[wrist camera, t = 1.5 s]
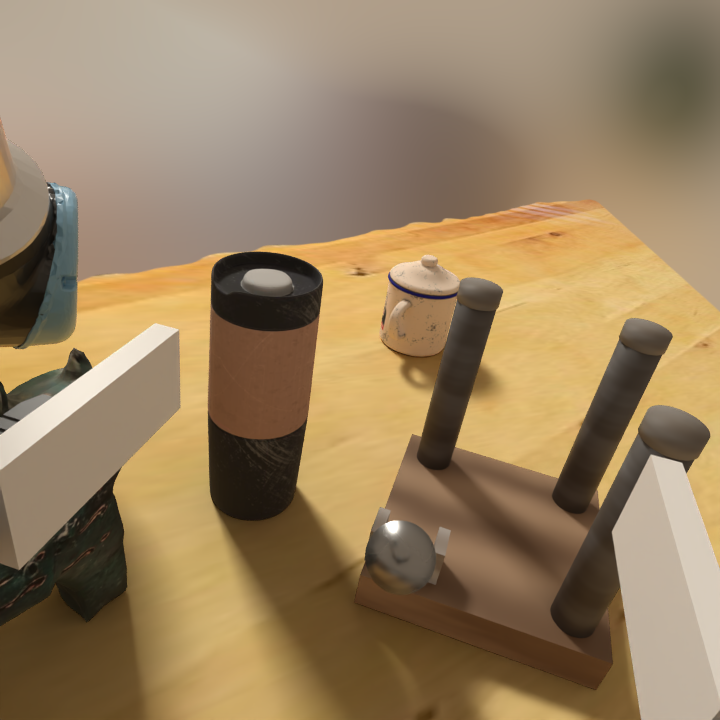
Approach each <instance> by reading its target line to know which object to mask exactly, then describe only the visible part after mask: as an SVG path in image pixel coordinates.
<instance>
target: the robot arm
mask: <svg viewBox="0 0 720 720" xmlns="http://www.w3.org/2000/svg"><path fill="white" fill-rule="evenodd" d="M77 270H78V202H77V197H76V194H75V193H74V192H73V191H72V190H71V189H70V188H67V187H63V186H59V185H57V184H56V183H48V182H46V180H45V178H44V175H43V173H42V171H41V170H40V168H39V166H38V165H37V163H36V162H35V161H34V160H33V159H32V158H31V157H30V156H29V155H28V154H27V153H26V152H25V151H24V150H23V149H21V148H20V147H19V146H17V145H16V144H15V143H13V142H12V141H10V140H8V139H6V136H5V132H4V129H3V126H2V122H1V118H0V347H13V348H15V349H25V348H27V347H29V346H35V345H46V344H56V343H60V342H63V341H65V340H66V339H68V338H69V337H70V336H71V335H72V333H73V332H74V330H75V326H76V317H77V277H78V275H77V274H78V272H77ZM179 408H180V355H179V329H175V328H171V327H167V326H164V325H160V324H156V323H155V324H153V325H152V326H151V327H149V328H148V329H146V330H145V331H144V332H142V333H141V334H140V335H138V336H137V337H135V338H134V339H133V340H131V341H130V342H128V343H127V344H126V345H124V346H123V347H121V348H120V349H119V350H117V351H116V352H115V353H113V354H112V355H110V356H109V357H108V358H106V359H105V360H103V361H102V362H101V363H99V364H98V365H96V366H95V367H94V368H92V369H91V370H90V371H88V372H87V373H85V374H84V375H83V376H81V377H80V378H78V379H77V380H76V381H74V382H73V383H72V384H70V385H69V386H67V387H66V388H65V389H63V390H62V391H60V392H59V393H58V394H56V395H55V396H53V397H51V396H48V395H45V394H42V395H39V396H37V397H34V398H31V399H29V400H26V401H23V402H21V403H19V404H18V405H16V406H15V407H13V408H12V409H10V410H9V411H8V412H6V413H5V414H3V417H2V418H1V417H0V563H1V564H4V565H6V566H9V567H12V568H15V569H18V570H20V569H21V568H22V567H23V566H24V565H25V564H26V563H27V562H28V561H29V560H30V559H31V558H32V557H33V556H34V555H35V554H36V553H37V552H38V551H39V550H40V549H41V548H42V547H43V546H44V545H45V544H46V543H47V542H48V541H49V540H50V539H51V538H52V537H53V536H54V535H55V534H56V533H57V532H58V531H59V530H60V529H61V528H62V527H63V525H64V524H65V523H66V522H67V521H68V520H69V519H70V518H71V517H72V516H73V515H74V514H75V513H76V512H77V511H78V510H79V509H80V508H81V507H82V506H83V505H84V504H85V503H86V502H87V501H88V500H89V499H90V498H91V497H92V496H93V495H94V494H95V493H96V492H97V491H98V490H99V489H100V488H101V487H102V486H103V485H104V484H105V483H106V482H107V481H108V480H109V479H110V478H111V477H112V476H113V475H114V474H115V473H116V472H117V471H118V470H119V469H120V468H121V467H122V466H123V465H124V464H125V463H126V462H127V461H128V460H129V459H130V458H131V457H132V456H133V455H134V454H135V453H136V452H137V451H138V450H139V449H140V448H141V447H142V446H143V445H144V444H145V443H146V442H147V441H148V440H149V439H150V438H151V437H152V436H153V435H154V434H155V433H156V432H157V431H158V430H159V429H160V428H161V427H162V426H163V425H164V424H165V423H166V422H167V421H168V420H169V419H170V418H171V417H172V416H173V415H174V414H175V413H176V412H177V411H178V410H179ZM612 536H613V542H614V549H615V555H616V562H617V568H618V574H619V581H620V587H621V594H622V600H623V606H624V613H625V619H626V626H627V632H628V638H629V645H630V651H631V658H632V664H633V670H634V677H635V683H636V690H637V696H638V702H639V709H640V715H641V720H720V568H719V566H718V563H717V560H716V557H715V554H714V551H713V549H712V546H711V543H710V540H709V537H708V534H707V532H706V529H705V526H704V523H703V520H702V517H701V514H700V512H699V509H698V506H697V503H696V500H695V497H694V495H693V492H692V489H691V486H690V483H689V480H688V478H687V475H686V472H685V469H684V466H683V463H681V462H677V461H673V460H670V459H666V458H662V457H658V456H655V455H650V457H649V459H648V461H647V463H646V465H645V467H644V469H643V471H642V473H641V475H640V477H639V479H638V481H637V483H636V485H635V487H634V489H633V491H632V493H631V495H630V497H629V499H628V501H627V503H626V505H625V507H624V509H623V511H622V513H621V515H620V517H619V519H618V521H617V523H616V525H615V527H614V529H613V531H612Z"/></svg>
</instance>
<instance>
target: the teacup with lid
mask: <svg viewBox="0 0 720 720" xmlns="http://www.w3.org/2000/svg"><path fill="white" fill-rule="evenodd" d="M437 263H438V260H437V258H436V257H434V256H432V255H424V256H423V257H422V258H421V261H415V262H406V263H401V264H398V265H396V266H394V267H393V268H392V269H391V271H390V272H389V275H388V278H389V285H388V291H387V296H386V301H385V307H384V312H383V317H382V322H381V328H380V337H381V339H382V341H383V342H384V343H385V344H386V345H387V346H388V347H390V348H391V349H393V350H395V351H397V352H400V353H403V354H406V355H410V356H419V357H425V356H431V355H435V354H437V353H439V352H440V351H442V349H443V348H444V346H445V342H446V338H447V334H448V330H449V326H450V323H451V319H452V315H453V311H454V307H455V303H456V299H457V293H458V289H459V285H460V281H459V279H458V278H457V277H456V276H455V275H454V274H453V273H451V272H450V271H448V270H446V269H444V268H443V267H441V266H440V265H438V264H437Z"/></svg>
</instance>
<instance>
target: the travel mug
mask: <svg viewBox="0 0 720 720" xmlns="http://www.w3.org/2000/svg"><path fill="white" fill-rule="evenodd" d="M322 288H323V278H322V275H321V273H320V272H319V270H318V269H316V268H315V267H314V266H312V265H311V264H309V263H307V262H305V261H303V260H301V259H298V258H295V257H292V256H288V255H284V254H278V253H271V252H244V253H237V254H233V255H229V256H227V257H224V258H222V259H220V260H219V261H218V262H216V264H215V265H214V267H213V269H212V274H211V315H210V350H209V385H208V437H209V478H210V493H211V497H212V499H213V501H214V503H215V505H216V506H217V507H218V508H219V509H220V510H221V511H223V512H224V513H226V514H227V515H229V516H232V517H234V518H238V519H242V520H262V519H267V518H270V517H273V516H275V515H277V514H279V513H281V512H282V511H283V510H285V509H286V508H287V507H288V506H289V504H290V503H291V501H292V499H293V497H294V493H295V489H296V483H297V478H298V472H299V466H300V460H301V454H302V448H303V442H304V436H305V430H306V424H307V417H308V410H309V401H310V393H311V384H312V375H313V366H314V358H315V349H316V340H317V332H318V323H319V314H320V306H321V297H322Z"/></svg>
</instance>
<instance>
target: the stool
mask: <svg viewBox="0 0 720 720" xmlns="http://www.w3.org/2000/svg"><path fill="white" fill-rule="evenodd" d="M502 294H503V290H502V288H501V287H500V286H498V285H497V284H495V283H493V282H491V281H488V280H485V279H480V278H465V279H462V280H461V281H460V285H459V289H458V293H457V302H456V306H455V310H454V314H453V318H452V321H451V325H450V329H449V333H448V337H447V341H446V344H445V348H444V352H443V356H442V360H441V364H440V368H439V371H438V375H437V379H436V383H435V387H434V391H433V394H432V398H431V402H430V406H429V410H428V414H427V418H426V421H425V425H424V429H423V433H422V437H420V436H417V435H413V434H412V436H411V439H410V442H409V444H408V447H407V450H406V453H405V455H404V458H403V461H402V463H401V466H400V469H399V472H398V474H397V477H396V480H395V482H394V485H393V488H392V491H391V493H390V496H389V499H388V501H387V504H386V507H385V509H384V508H381V507H380V508H379V511H378V514H377V516H376V519H375V522H374V524H373V527H372V529H371V533H370V537H371V536H372V535H373V533H374V532H375V531H376V530H377V529H378V528H379V527H381V526H382V525H384V524H386V523H388V522H392V521H401V520H402V521H408V522H411V523H414V524H416V525H418V526H419V527H421V528H422V529H423V530H424V531H425V532H426V533H427V534H428V535H429V537H430V539H431V540H432V542H433V545H434V548H435V552H436V565H435V570H434V572H433V575H432V577H431V579H430V580H429V581H428V583H427V584H426V585H425V586H424V587H423V588H421V589H420V590H418V591H416V592H414V593H411V594H407V595H396V594H392V593H389V592H386V591H385V590H383V589H381V588H380V587H379V586H378V585H377V584H376V583H375V582H374V581H373V580H372V578H371V576H370V575H369V572H368V570H367V567H366V561H365V564H364V567H363V569H362V572H361V575H360V579H359V583H358V588H357V592H356V597H355V601H354V602H355V603H357V604H360V605H363V606H366V607H368V608H371V609H374V610H377V611H379V612H382V613H385V614H388V615H391V616H393V617H396V618H399V619H402V620H404V621H407V622H410V623H413V624H415V625H418V626H421V627H424V628H426V629H429V630H432V631H435V632H437V633H440V634H443V635H446V636H449V637H451V638H454V639H457V640H460V641H462V642H465V643H468V644H471V645H473V646H476V647H479V648H482V649H484V650H487V651H490V652H493V653H495V654H498V655H501V656H504V657H507V658H509V659H512V660H515V661H518V662H520V663H523V664H526V665H529V666H531V667H534V668H537V669H540V670H542V671H545V672H548V673H551V674H553V675H556V676H559V677H562V678H565V679H567V680H570V681H573V682H576V683H578V684H581V685H584V686H587V687H589V688H592V689H595V690H596V689H597V688H598V686H599V685H600V683H601V682H602V680H603V678H604V677H605V675H606V674H607V672H608V671H609V669H610V668H611V666H612V664H613V660H612V649H611V637H610V626H609V614H608V607H609V605H610V603H611V601H612V600H613V598H614V596H615V595H616V593H617V591H618V589H619V588H620V581H619V574H618V568H617V562H616V555H615V549H614V542H613V536H612V531H613V529H614V527H615V525H616V523H617V521H618V519H619V517H620V515H621V513H622V511H623V509H624V507H625V505H626V503H627V501H628V499H629V497H630V495H631V493H632V491H633V489H634V487H635V485H636V483H637V481H638V479H639V477H640V475H641V473H642V471H643V469H644V467H645V465H646V463H647V461H648V459H649V457H650V455H655V456H658V457H662V458H666V459H670V460H673V461H677V462H681V463H683V466H684V469H685V472H686V473H687V472H688V470H689V468H690V466H691V465H692V463H693V461H694V460H695V459H697V458H698V457H699V455H700V454H701V452H702V450H703V449H704V447H705V445H706V444H707V442H708V440H709V438H710V432H709V430H708V428H707V427H706V426H705V425H704V424H703V423H702V422H701V421H700V420H698V419H697V418H696V417H694V416H692V415H691V414H689V413H687V412H685V411H682V410H680V409H677V408H674V407H670V406H663V405H656V406H652V407H650V408H649V409H648V410H647V412H646V414H645V416H644V418H643V420H642V422H641V424H640V426H639V428H638V435H637V437H636V438H635V440H634V442H633V444H632V446H631V448H630V450H629V452H628V454H627V456H626V458H625V460H624V462H623V464H622V466H621V468H620V470H619V472H618V474H617V476H616V478H615V480H614V482H613V484H612V486H611V488H610V490H609V492H608V494H607V496H606V498H605V500H604V502H603V504H602V506H601V508H600V510H599V500H598V491H597V487H598V485H599V483H600V481H601V479H602V477H603V475H604V473H605V471H606V469H607V467H608V465H609V463H610V461H611V459H612V457H613V455H614V453H615V451H616V449H617V446H618V444H619V442H620V440H621V438H622V436H623V434H624V432H625V430H626V428H627V426H628V424H629V422H630V420H631V418H632V416H633V414H634V412H635V410H636V408H637V406H638V403H639V401H640V399H641V397H642V395H643V393H644V391H645V389H646V387H647V385H648V383H649V381H650V379H651V377H652V375H653V373H654V371H655V369H656V367H657V365H658V362H659V360H660V358H661V356H662V355H663V354H664V353H665V352H666V350H667V348H668V346H669V344H670V342H671V339H672V337H673V336H672V334H671V332H670V331H669V330H667V329H666V328H664V327H663V326H661V325H659V324H656V323H654V322H651V321H648V320H644V319H638V318H631V319H627V320H626V322H625V324H624V326H623V328H622V331H621V333H620V335H619V341H618V344H617V346H616V348H615V351H614V353H613V355H612V357H611V360H610V362H609V364H608V367H607V369H606V371H605V373H604V376H603V378H602V380H601V383H600V385H599V387H598V389H597V392H596V394H595V396H594V399H593V401H592V403H591V406H590V408H589V410H588V412H587V415H586V417H585V419H584V422H583V424H582V426H581V428H580V431H579V433H578V435H577V438H576V440H575V442H574V444H573V447H572V449H571V451H570V454H569V456H568V458H567V460H566V463H565V465H564V467H563V470H562V472H561V474H560V477H559V479H558V478H555V477H551V476H548V475H545V474H541V473H538V472H535V471H532V470H528V469H525V468H522V467H518V466H515V465H512V464H509V463H505V462H502V461H499V460H495V459H492V458H489V457H486V456H482V455H479V454H476V453H472V452H469V451H466V450H463V449H459V448H456V447H455V445H456V441H457V438H458V435H459V432H460V428H461V425H462V422H463V418H464V415H465V412H466V408H467V405H468V402H469V398H470V395H471V392H472V388H473V385H474V382H475V378H476V375H477V372H478V368H479V365H480V362H481V359H482V355H483V352H484V349H485V345H486V342H487V339H488V335H489V332H490V329H491V325H492V322H493V319H494V315H495V312H496V309H497V308H498V307H499V304H500V300H501V297H502ZM370 537H369V539H370ZM364 560H365V559H364Z"/></svg>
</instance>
